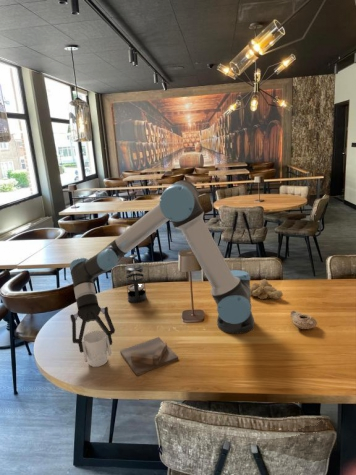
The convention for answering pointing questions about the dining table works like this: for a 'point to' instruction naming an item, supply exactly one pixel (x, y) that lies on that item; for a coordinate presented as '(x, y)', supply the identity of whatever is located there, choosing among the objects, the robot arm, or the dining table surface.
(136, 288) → the french press
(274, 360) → the dining table surface
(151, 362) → the brown flat square slab
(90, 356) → the white cup
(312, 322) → the pottery oil lamp
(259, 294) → the ginger root
